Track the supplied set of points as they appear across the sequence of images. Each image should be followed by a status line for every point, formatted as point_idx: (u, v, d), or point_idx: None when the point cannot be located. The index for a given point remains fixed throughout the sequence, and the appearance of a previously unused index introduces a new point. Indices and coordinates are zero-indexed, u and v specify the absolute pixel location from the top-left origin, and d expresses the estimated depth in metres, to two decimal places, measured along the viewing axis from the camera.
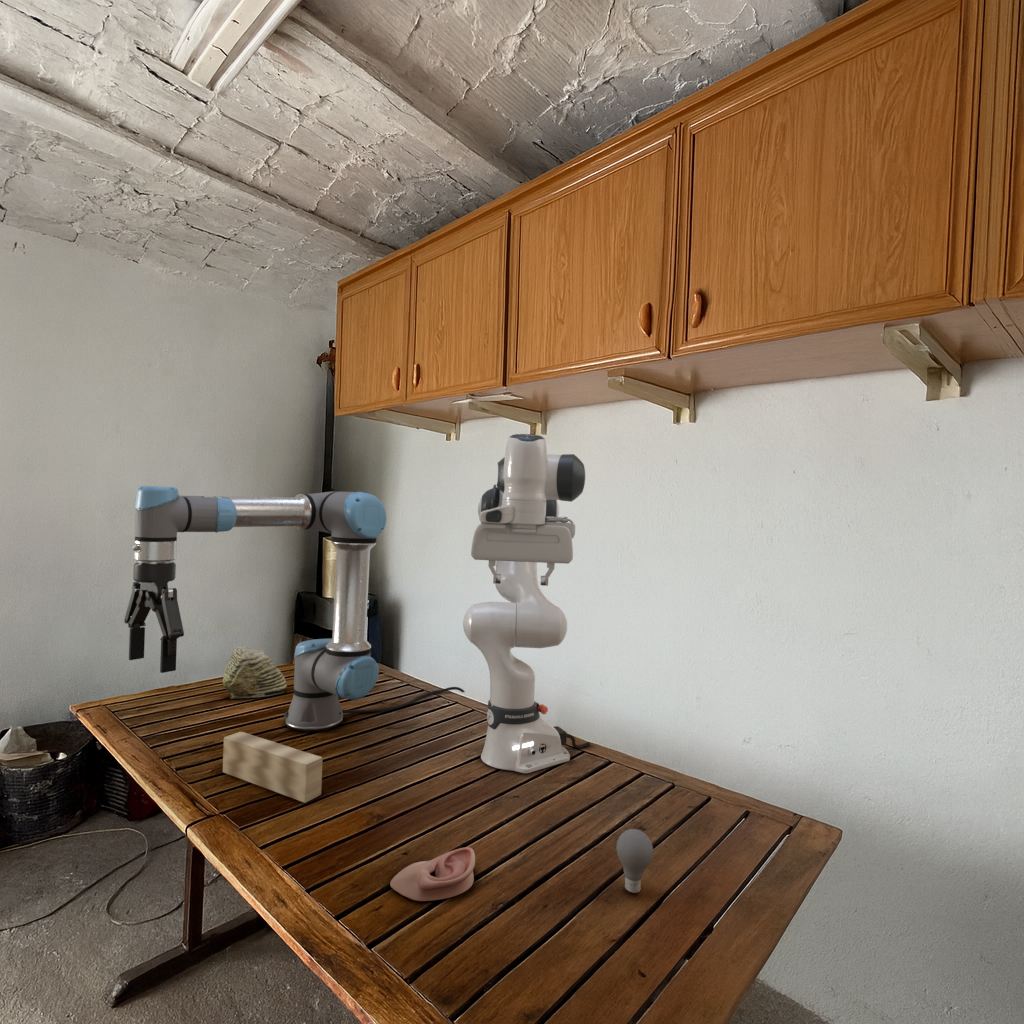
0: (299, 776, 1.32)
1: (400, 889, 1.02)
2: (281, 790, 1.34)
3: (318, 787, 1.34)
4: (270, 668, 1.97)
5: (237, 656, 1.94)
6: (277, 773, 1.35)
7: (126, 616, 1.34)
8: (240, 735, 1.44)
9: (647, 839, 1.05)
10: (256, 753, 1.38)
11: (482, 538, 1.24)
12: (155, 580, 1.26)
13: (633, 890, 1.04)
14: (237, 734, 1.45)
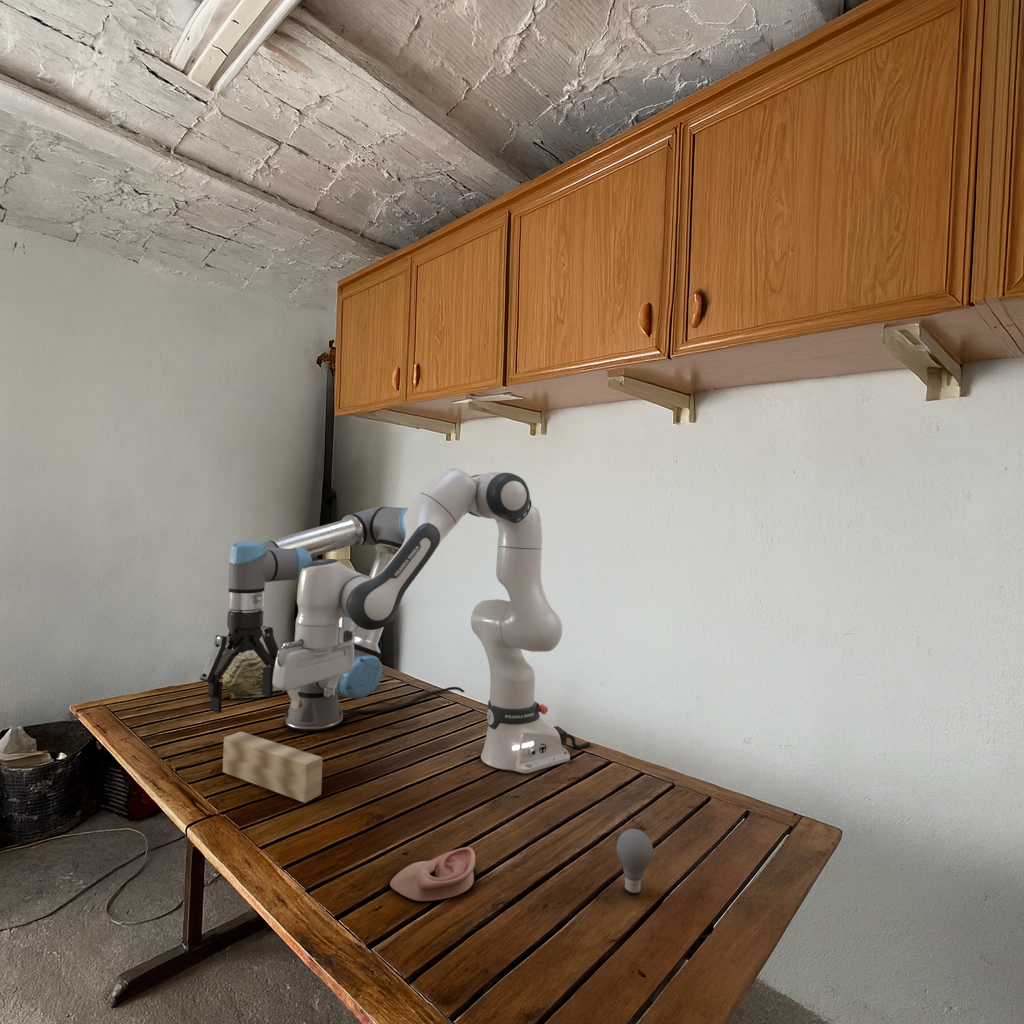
0: (299, 776, 1.32)
1: (400, 889, 1.02)
2: (281, 790, 1.34)
3: (318, 787, 1.34)
4: None
5: (237, 656, 1.94)
6: (277, 773, 1.35)
7: (211, 673, 1.35)
8: (240, 735, 1.44)
9: (647, 839, 1.05)
10: (256, 753, 1.38)
11: None
12: None
13: (633, 890, 1.04)
14: (237, 734, 1.45)
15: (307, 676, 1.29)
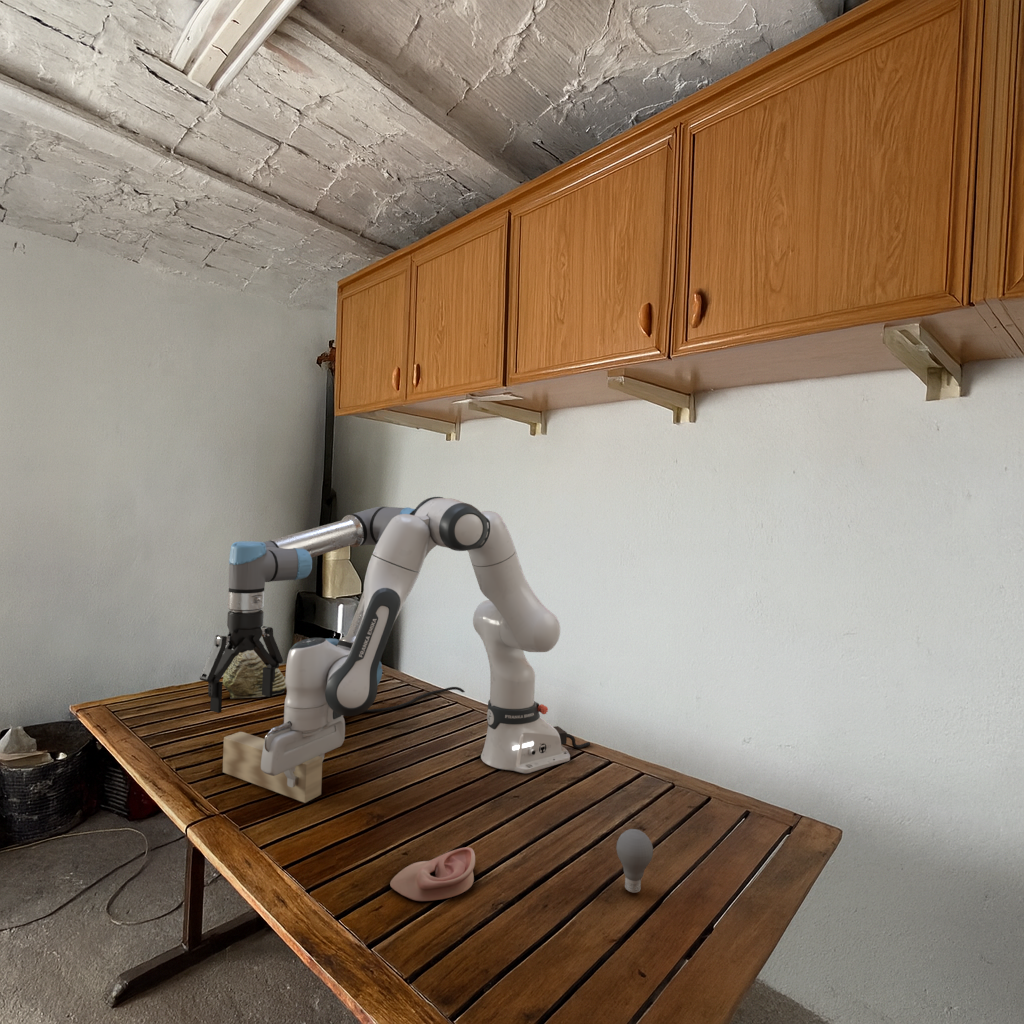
0: (299, 776, 1.32)
1: (400, 889, 1.02)
2: (281, 790, 1.34)
3: (318, 787, 1.34)
4: None
5: (237, 656, 1.94)
6: None
7: (211, 673, 1.35)
8: (240, 735, 1.44)
9: (647, 839, 1.05)
10: (256, 753, 1.38)
11: None
12: None
13: (633, 890, 1.04)
14: (236, 734, 1.45)
15: (295, 758, 1.30)
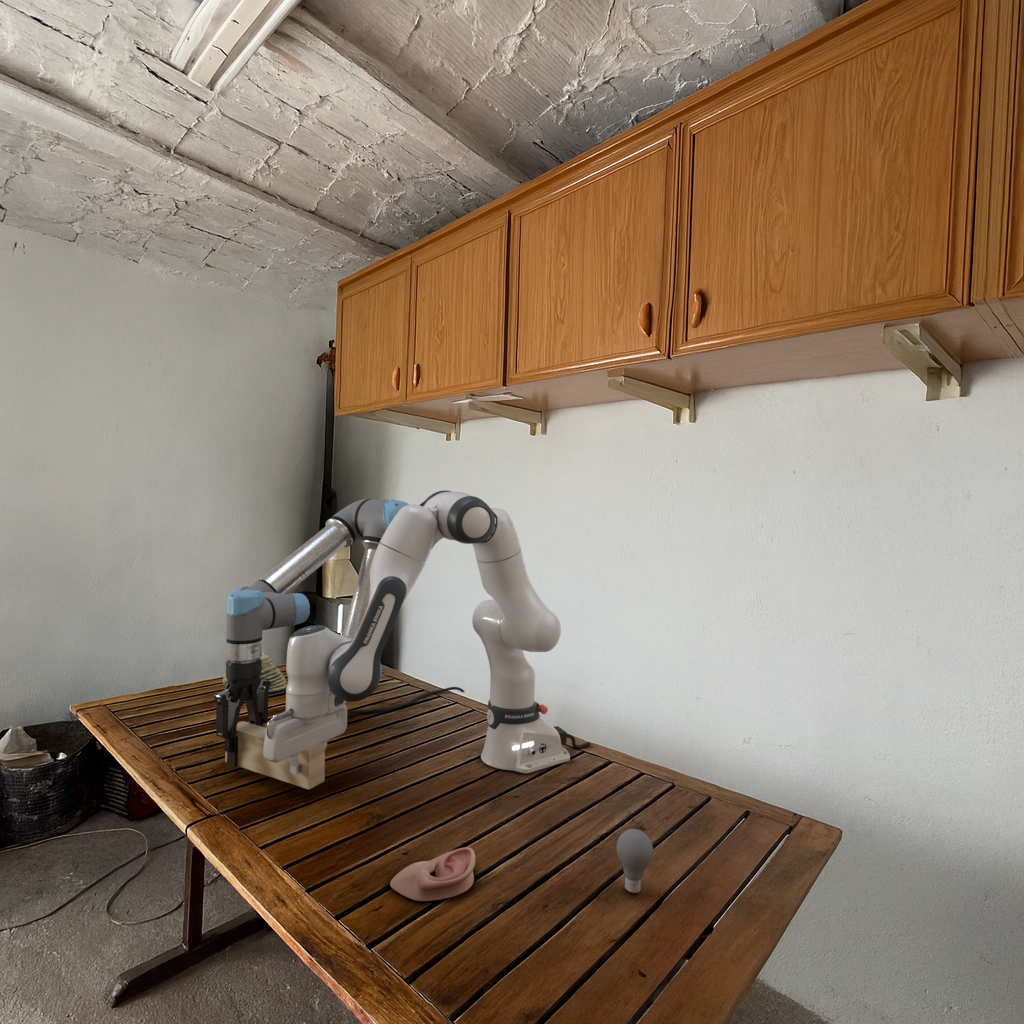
0: (302, 763, 1.32)
1: (400, 889, 1.02)
2: (285, 778, 1.35)
3: (321, 774, 1.34)
4: (270, 668, 1.97)
5: None
6: (280, 761, 1.35)
7: (225, 730, 1.39)
8: (242, 725, 1.45)
9: (647, 839, 1.05)
10: (258, 742, 1.38)
11: None
12: None
13: (633, 890, 1.04)
14: (238, 724, 1.45)
15: (298, 745, 1.30)
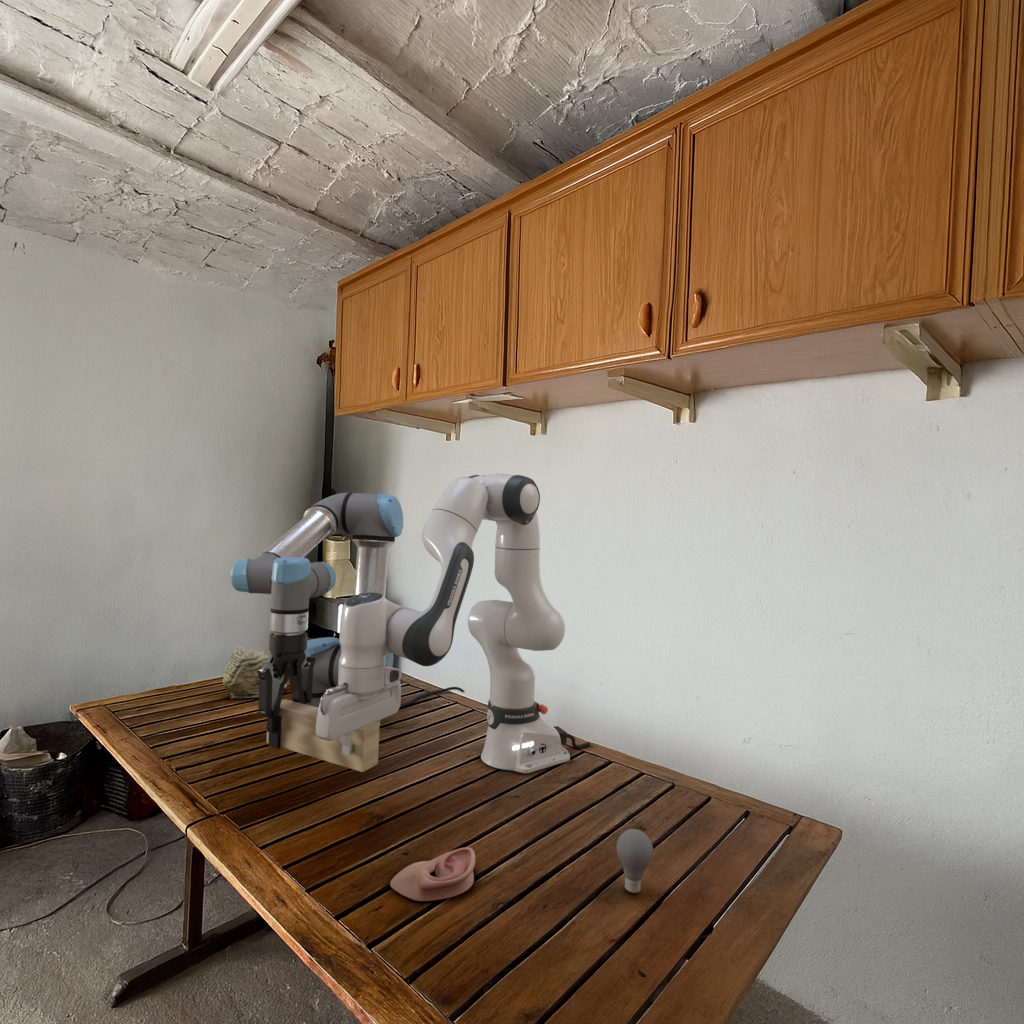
0: (355, 743, 1.20)
1: (400, 889, 1.02)
2: (335, 759, 1.23)
3: (375, 756, 1.23)
4: None
5: (237, 656, 1.94)
6: (330, 741, 1.23)
7: (269, 707, 1.27)
8: (285, 703, 1.33)
9: (647, 839, 1.05)
10: (305, 720, 1.27)
11: None
12: None
13: (633, 890, 1.04)
14: (281, 702, 1.33)
15: (352, 723, 1.18)
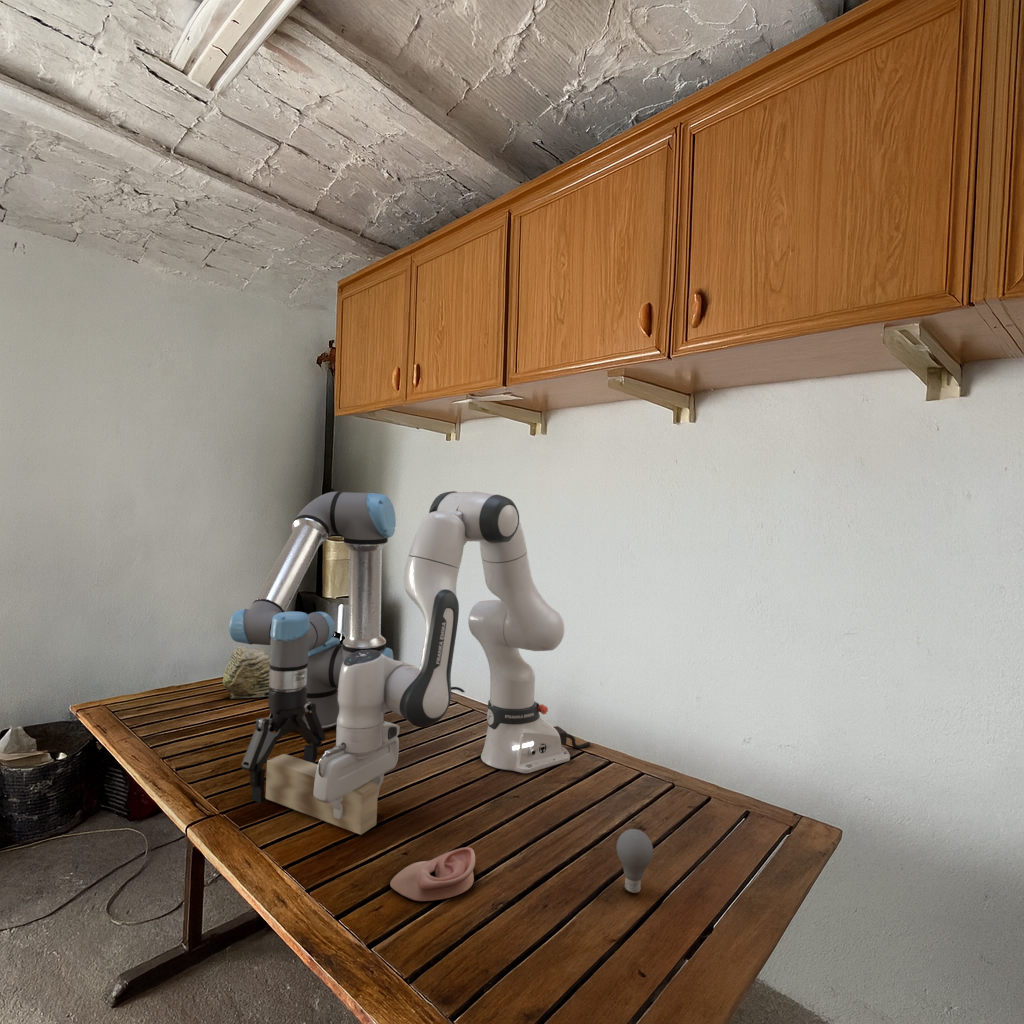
0: (354, 805, 1.20)
1: (400, 889, 1.02)
2: (333, 820, 1.23)
3: (373, 817, 1.23)
4: None
5: (237, 656, 1.94)
6: None
7: (254, 762, 1.24)
8: (284, 758, 1.33)
9: (647, 839, 1.05)
10: (304, 779, 1.27)
11: None
12: None
13: (633, 890, 1.04)
14: (280, 757, 1.33)
15: (350, 783, 1.18)
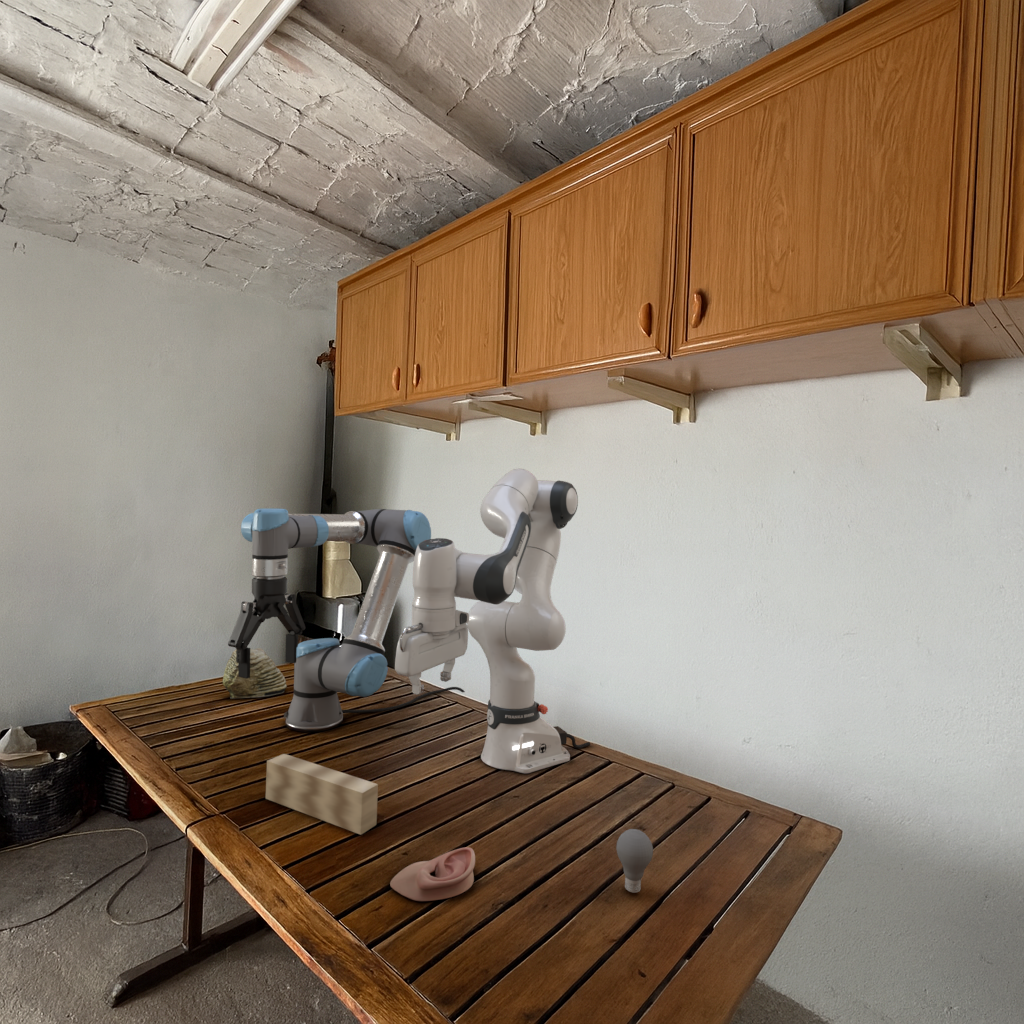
0: (354, 805, 1.20)
1: (400, 889, 1.02)
2: (333, 820, 1.23)
3: (373, 817, 1.23)
4: (270, 668, 1.97)
5: None
6: (329, 801, 1.23)
7: (240, 639, 1.35)
8: (284, 758, 1.33)
9: (647, 839, 1.05)
10: (304, 779, 1.27)
11: None
12: None
13: (633, 890, 1.04)
14: (280, 757, 1.33)
15: (427, 661, 1.24)
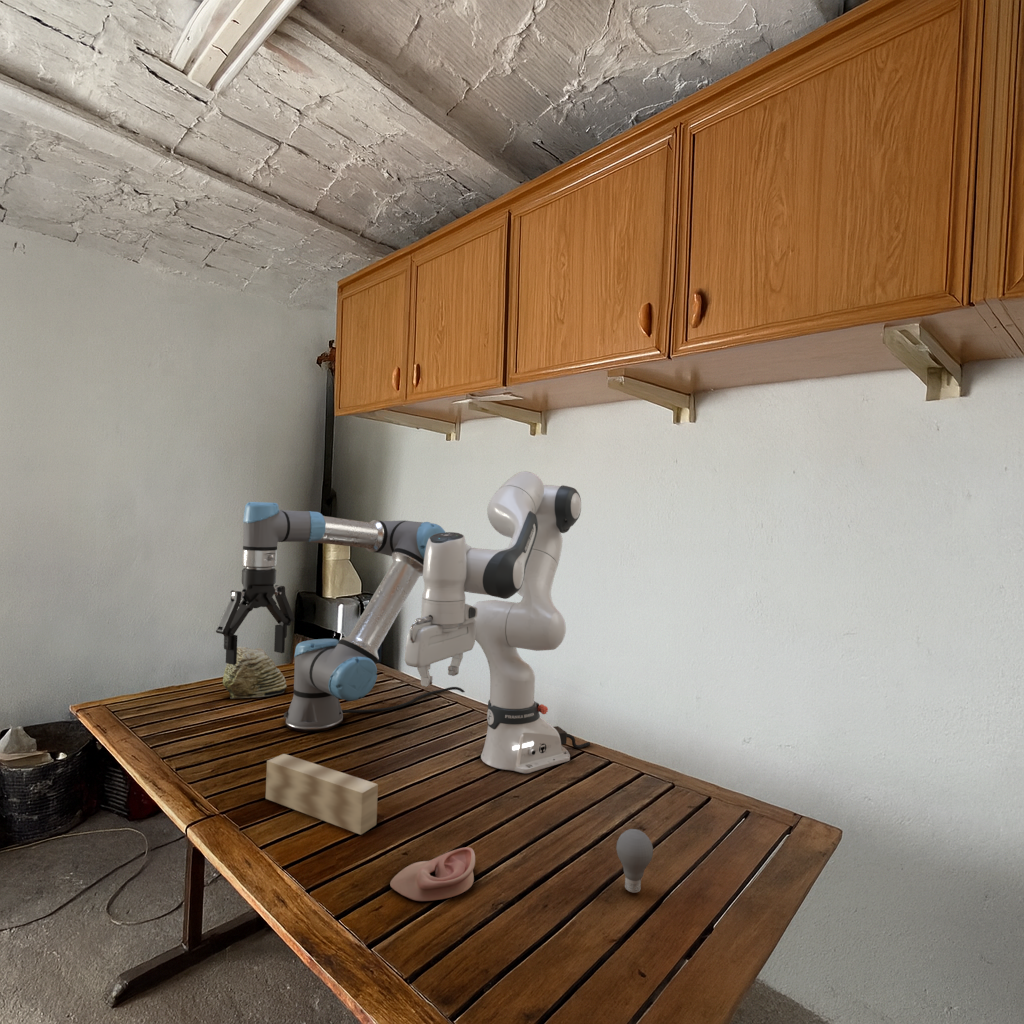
0: (354, 805, 1.20)
1: (400, 889, 1.02)
2: (333, 820, 1.23)
3: (373, 817, 1.23)
4: (270, 668, 1.97)
5: (237, 656, 1.94)
6: (329, 801, 1.23)
7: (227, 626, 1.40)
8: (284, 758, 1.33)
9: (647, 839, 1.05)
10: (304, 779, 1.27)
11: None
12: None
13: (633, 890, 1.04)
14: (280, 757, 1.33)
15: (437, 653, 1.25)
